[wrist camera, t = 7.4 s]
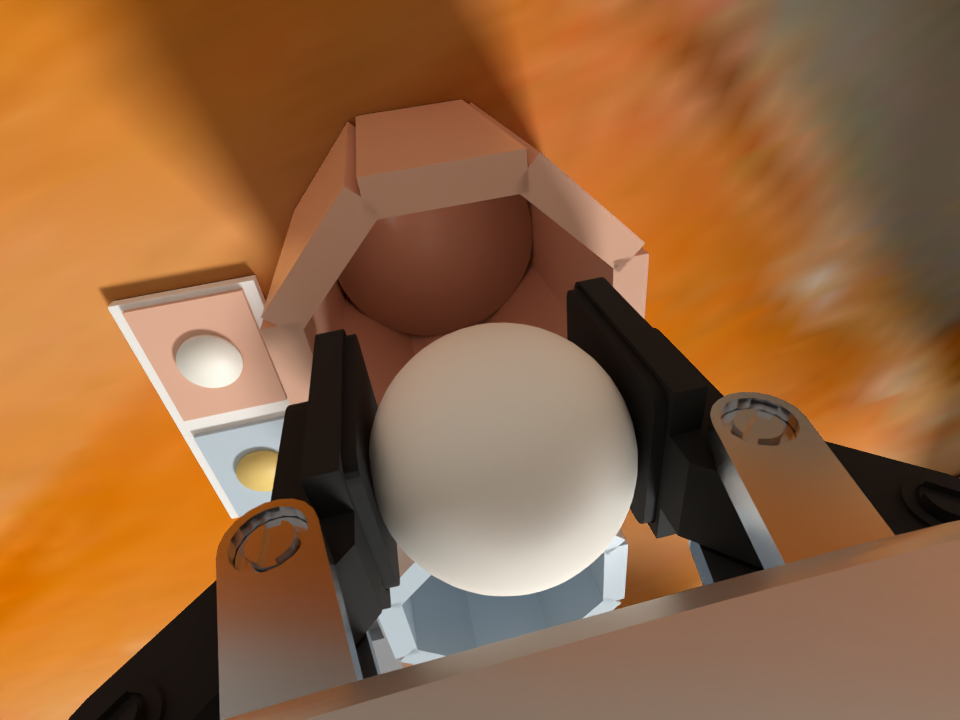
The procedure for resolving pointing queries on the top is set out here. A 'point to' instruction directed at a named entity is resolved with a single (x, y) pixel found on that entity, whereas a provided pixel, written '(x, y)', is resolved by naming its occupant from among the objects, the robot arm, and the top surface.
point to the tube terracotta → (435, 242)
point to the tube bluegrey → (492, 607)
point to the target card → (214, 380)
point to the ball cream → (503, 459)
